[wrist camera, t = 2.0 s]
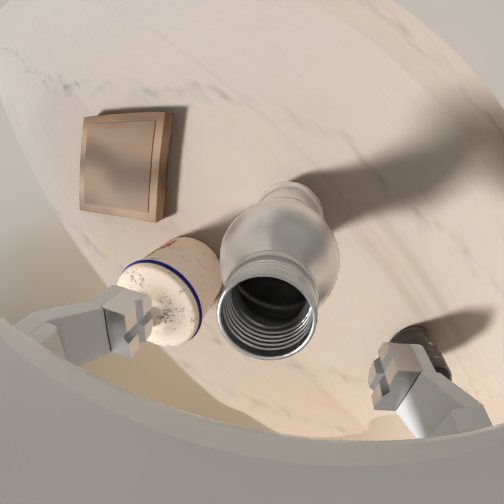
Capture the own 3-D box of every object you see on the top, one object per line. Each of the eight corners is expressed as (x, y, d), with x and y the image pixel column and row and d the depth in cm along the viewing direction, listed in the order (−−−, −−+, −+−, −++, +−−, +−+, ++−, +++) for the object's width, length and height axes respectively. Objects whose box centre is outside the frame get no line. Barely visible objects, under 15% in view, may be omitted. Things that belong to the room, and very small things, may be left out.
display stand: (94, 118, 28) (83, 117, 26) (173, 114, 26) (164, 111, 25) (89, 206, 32) (79, 210, 30) (163, 218, 31) (155, 222, 29)
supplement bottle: (438, 336, 29) (472, 397, 18) (406, 370, 32) (427, 435, 21) (408, 316, 29) (442, 383, 18) (374, 354, 32) (391, 425, 21)
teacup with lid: (173, 219, 30) (112, 252, 20) (240, 262, 31) (207, 318, 20) (140, 293, 35) (88, 341, 24) (195, 331, 35) (159, 392, 24)
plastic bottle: (258, 241, 30) (189, 375, 11) (259, 178, 27) (169, 221, 9) (319, 245, 29) (339, 392, 10) (323, 180, 26) (373, 232, 8)
